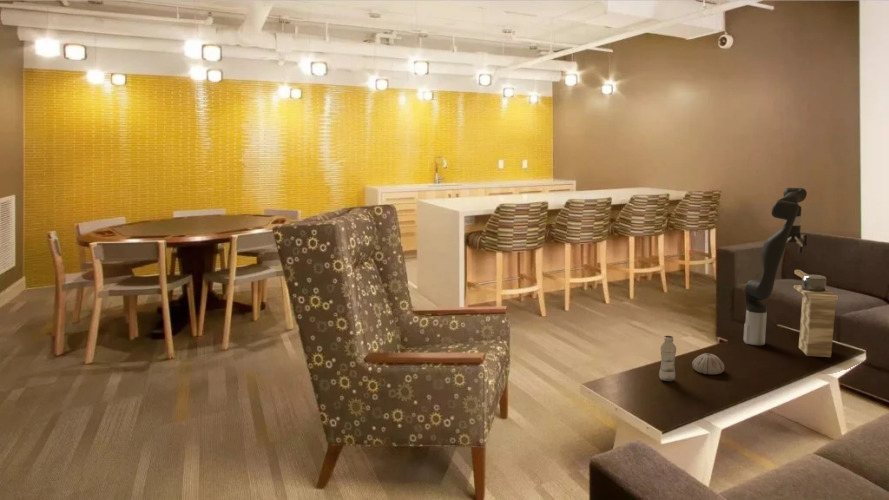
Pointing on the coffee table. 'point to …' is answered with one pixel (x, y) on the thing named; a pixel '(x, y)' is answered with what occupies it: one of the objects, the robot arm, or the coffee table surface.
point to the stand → (817, 322)
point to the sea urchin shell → (708, 364)
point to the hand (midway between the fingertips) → (790, 253)
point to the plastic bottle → (667, 359)
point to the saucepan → (812, 282)
